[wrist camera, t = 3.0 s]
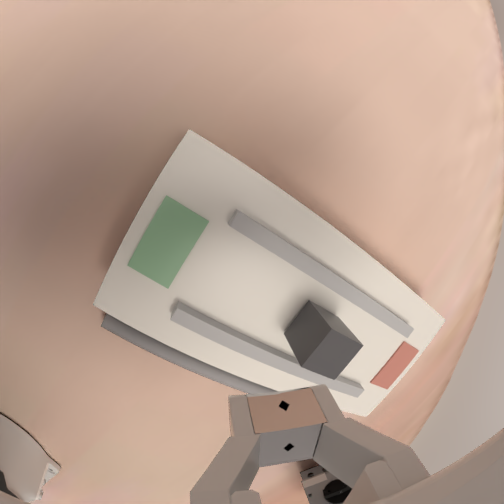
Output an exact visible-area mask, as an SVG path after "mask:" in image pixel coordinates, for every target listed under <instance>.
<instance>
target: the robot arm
mask: <svg viewBox="0 0 504 504" xmlns="http://www.w3.org/2000/svg"><path fill="white" fill-rule="evenodd" d="M228 403H229V422H230V434H231V437H229V438H228V439H227V441H226V442H225V444H224V445H223V447H222V448H221V450H220V451H219V452H218V454H217V455H216V457H215V458H214V460H213V461H212V462H211V464H210V465H209V467H208V468H207V469H206V471H205V472H204V474H203V475H202V476H201V478H200V479H199V480H198V482H197V483H196V484H195V486H194V487H193V489H192V490H191V491H190V504H261V500H260V495H259V493H258V492H256V491H254V490H249V488H250V486H251V484H252V482H253V480H254V478H255V476H256V473H257V471H258V469H259V467H264V466H271V465H276V464H282V463H288V462H294V461H301V460H306V459H312V458H313V460H314V461H315V462H317V463H318V464H319V465H321V466H322V467H323V468H325V469H326V470H327V471H328V472H330V473H331V474H333V475H334V476H335V477H337V478H338V479H339V480H341V481H342V482H344V483H345V484H346V485H348V486H349V487H351V488H352V490H351V492H350V493H349V495H348V496H347V498H346V500H345V501H344V503H343V504H504V428H503V429H502V430H501V431H499V432H498V433H497V434H495V435H494V436H493V437H491V438H490V439H489V440H487V441H486V442H485V443H483V444H482V445H480V446H479V447H477V448H476V449H474V450H473V451H471V452H470V453H469V454H467V455H465V456H464V457H462V458H461V459H459V460H458V461H456V462H454V463H453V464H451V465H449V466H447V467H446V468H444V469H442V470H441V471H439V472H437V473H435V474H433V475H431V476H430V474H429V473H428V471H427V470H426V468H425V467H424V465H423V464H422V463H421V461H420V460H419V458H418V457H417V455H416V454H415V453H414V451H413V449H412V448H411V447H410V446H407V445H405V444H403V443H401V442H398V441H396V440H394V439H392V438H390V437H388V436H386V435H383V434H381V433H379V432H377V431H375V430H373V429H371V428H369V427H367V426H365V425H363V424H361V423H359V422H357V421H355V420H353V419H351V418H345V417H344V415H343V414H342V412H341V410H340V408H339V406H338V405H337V403H336V401H335V399H334V398H333V396H332V394H331V392H330V391H329V389H328V387H327V386H326V385H325V384H321V385H316V386H310V387H304V388H298V389H292V390H285V391H277V392H269V393H257V394H246V395H229V396H228ZM60 469H61V467H60V466H59V465H58V464H57V463H56V462H55V461H53V460H52V459H51V458H50V457H49V456H48V455H47V454H46V453H45V452H44V450H43V449H42V448H41V446H40V445H39V444H38V443H37V442H36V441H35V440H34V439H33V438H32V437H31V436H30V435H29V434H27V433H26V432H25V431H24V430H23V429H21V428H20V427H19V426H18V425H16V424H15V423H13V422H12V421H11V420H9V419H8V418H6V417H4V416H3V415H1V414H0V504H30V503H29V502H31V501H35V500H38V499H39V500H41V498H42V495H43V490H42V489H41V488H42V485H45V483H46V482H48V481H49V480H50V479H51V478H53V477H54V476H55V475H56V474H58V473H59V471H60Z"/></svg>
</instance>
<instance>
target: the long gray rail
mask: <svg viewBox="0 0 504 504" xmlns="http://www.w3.org/2000/svg"><path fill="white" fill-rule="evenodd" d="M101 327H103V328H105V329H107V330H108V331H110V332H112V333H114V334H116V335H117V336H119V337H121V338H123V339H125V340H127V341H129V342H131V343H133V344H134V345H136V346H138V347H140V348H142V349H144V350H146V351H148V352H150V353H152V354H154V355H157V356H159V357H161V358H163V359H165V360H167V361H169V362H171V363H174V364H176V365H178V366H180V367H183V368H185V369H187V370H189V371H192V372H194V373H196V374H199V375H201V376H204V377H206V378H208V379H211V380H213V381H216V382H218V383H221V384H224V385H226V386H229V387H231V388H234V389H237V390H240V391H242V392H245V393H248V394H257V393H269V392H277V391H276V390H273V389H271V388H268V387H265V386H262V385H259V384H257V383H254V382H251V381H249V380H246V379H244V378H241V377H238V376H236V375H233V374H231V373H228V372H226V371H224V370H221V369H219V368H216V367H214V366H212V365H209V364H207V363H205V362H203V361H200V360H198V359H196V358H194V357H191V356H189V355H187V354H185V353H183V352H180V351H178V350H176V349H174V348H172V347H170V346H168V345H166V344H164V343H162V342H160V341H158V340H156V339H154V338H152V337H150V336H148V335H146V334H144V333H142V332H140V331H138V330H136V329H135V328H133V327H131V326H129V325H127V324H125V323H123V322H122V321H120V320H118V319H116V318H114V317H113V316H111V315H109V314H106V316H105V318H104V320H103V322H102V325H101Z"/></svg>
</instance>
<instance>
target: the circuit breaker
mask: <svg viewBox="0 0 504 504" xmlns="http://www.w3.org/2000/svg"><path fill="white" fill-rule="evenodd" d="M322 469H323V467H322V466H321V465H319V466H316V467H314V468H311V469H308V470H306V471H303V472H300V474H301V477H302V479H303V480H302V481H301V482H302V485H303V487H304V490H305V493H306V495H307V498H308V501H309V503H310V504H343V503H344V501H345V500H346V498H347V496H348V495H349V493H350V492H351V490H352V488H351V487H349V486H348V485H346V484H345V483H344V482H342V481H341V480H339V479H338V478H337V477H335V476H334V475H333V474H331V473H330V472H328V471H327V470H326V469H323V470H322ZM310 473H313V474H310ZM308 474H310V475H308Z"/></svg>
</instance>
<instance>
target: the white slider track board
mask: <svg viewBox="0 0 504 504" xmlns="http://www.w3.org/2000/svg"><path fill="white" fill-rule="evenodd" d="M308 300H310V301H312V302H313V303H315V304H317V305H319V306H320V307H322V308H324V309H325V310H327V311H329V312H331V313H332V314H334V315H336V316H338V317H339V318H340V319H341V320H342V322H343V323H344V324H345V325H346V326H347V327H348V328H349V329H350V331H351V332H352V333H353V334H354V335H355V336H356V337H357V339H358V340H359V341H360V342H361V343H362V344H363V345H364V346H363V347H362V348H361V349H360V351H359V352H358V353H357V354H356V355H355V357H354V358H353V359H352V360H351V361H350V363H349V364H348V365H347V366H346V367H345V369H344V370H343V371H342V372H341V373H340V374H339V376H338V377H337V378H336V379H335V380H333V379H330V378H327V377H325V376H322V375H320V374H317V373H315V372H312V371H310V370H307V369H305V368H302V367H301V366H300V364H299V362H298V360H297V358H296V356H295V355H294V353H293V351H292V349H291V347H290V345H289V343H288V341H287V339H286V337H285V335H284V332H285V331H286V330H287V328H288V327H289V326H290V324H291V323H292V322H293V320H294V319H295V318H296V316H297V315H298V314H299V312H300V311H301V310H302V308H303V307H304V306H305V304H306V303H307V302H308ZM93 305H94V306H96V307H97V308H99V309H101V310H102V311H104V312H106V313H107V314H109V315H111V316H113V317H114V318H116V319H118V320H120V321H122V322H123V323H125V324H127V325H129V326H131V327H133V328H135V329H136V330H138V331H140V332H142V333H144V334H146V335H148V336H150V337H152V338H154V339H156V340H158V341H160V342H162V343H164V344H166V345H168V346H170V347H172V348H174V349H176V350H178V351H180V352H183V353H185V354H187V355H189V356H191V357H194V358H196V359H198V360H200V361H203V362H205V363H207V364H209V365H212V366H214V367H216V368H219V369H221V370H224V371H226V372H228V373H231V374H233V375H236V376H238V377H241V378H244V379H246V380H249V381H251V382H254V383H257V384H259V385H262V386H265V387H268V388H271V389H273V390H276V391H285V390H292V389H298V388H304V387H310V386H316V385H321V384H325V385H326V386H327V387H328V389H329V391H330V392H331V394H332V396H333V398H334V399H335V401H336V403H337V405H338V406H339V408H340V410H341V411H345V412H349V413H352V414H356V415H360V416H365V417H367V416H368V415H369V414H370V413H371V412H372V411H373V410H374V409H375V407H376V406H377V405H378V404H379V403H380V402H381V401H382V400H383V399H384V398H385V397H386V396H387V395H388V393H389V392H390V391H391V390H392V389H393V388H394V387H395V386H396V384H397V383H398V382H399V381H400V380H401V379H402V377H403V376H404V375H405V374H406V373H407V371H408V370H409V369H410V368H411V367H412V365H413V364H414V363H415V362H416V360H417V359H418V358H419V356H420V355H421V354H422V353H423V351H424V350H425V349H426V347H427V346H428V345H429V343H430V342H431V341H432V339H433V338H434V336H435V335H436V334H437V332H438V331H439V329H440V328H441V326H442V325H443V323H444V322H445V319H444V318H443V317H442V316H441V315H440V314H438V313H437V312H436V311H435V310H434V309H433V308H432V307H431V306H430V305H428V304H427V303H426V302H425V301H424V300H423V299H422V298H420V297H419V296H418V295H417V294H416V293H415V292H414V291H412V290H411V289H410V288H409V287H408V286H407V285H405V284H404V283H403V282H402V281H401V280H399V279H398V278H397V277H396V276H395V275H393V274H392V273H391V272H390V271H389V270H387V269H386V268H385V267H384V266H383V265H381V264H380V263H379V262H378V261H376V260H375V259H374V258H373V257H371V256H370V255H369V254H368V253H366V252H365V251H364V250H363V249H361V248H360V247H359V246H358V245H356V244H355V243H354V242H352V241H351V240H350V239H349V238H347V237H346V236H345V235H343V234H342V233H341V232H339V231H338V230H337V229H336V228H334V227H333V226H332V225H330V224H329V223H328V222H326V221H325V220H324V219H322V218H321V217H319V216H318V215H317V214H315V213H314V212H313V211H311V210H310V209H309V208H307V207H306V206H304V205H303V204H302V203H300V202H299V201H298V200H296V199H295V198H293V197H292V196H291V195H289V194H288V193H286V192H285V191H283V190H282V189H281V188H279V187H278V186H276V185H275V184H273V183H272V182H270V181H269V180H268V179H266V178H265V177H263V176H262V175H260V174H259V173H257V172H256V171H254V170H253V169H251V168H250V167H248V166H247V165H245V164H244V163H242V162H241V161H239V160H238V159H236V158H235V157H233V156H232V155H230V154H228V153H227V152H225V151H224V150H222V149H221V148H219V147H218V146H216V145H214V144H213V143H211V142H210V141H208V140H206V139H205V138H203V137H202V136H200V135H198V134H197V133H195V132H193V131H192V130H190V129H189V130H188V132H187V133H186V135H185V136H184V138H183V139H182V141H181V142H180V144H179V145H178V147H177V148H176V150H175V151H174V153H173V154H172V156H171V157H170V159H169V161H168V162H167V164H166V165H165V167H164V169H163V170H162V172H161V173H160V175H159V177H158V178H157V180H156V182H155V183H154V185H153V187H152V188H151V190H150V192H149V193H148V195H147V197H146V199H145V200H144V202H143V204H142V206H141V207H140V209H139V211H138V213H137V215H136V217H135V218H134V220H133V222H132V224H131V226H130V228H129V230H128V231H127V233H126V235H125V237H124V239H123V241H122V243H121V245H120V247H119V249H118V251H117V253H116V255H115V257H114V259H113V261H112V263H111V265H110V267H109V270H108V272H107V274H106V276H105V278H104V280H103V282H102V285H101V287H100V289H99V291H98V294H97V296H96V298H95V301H94V303H93Z"/></svg>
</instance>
